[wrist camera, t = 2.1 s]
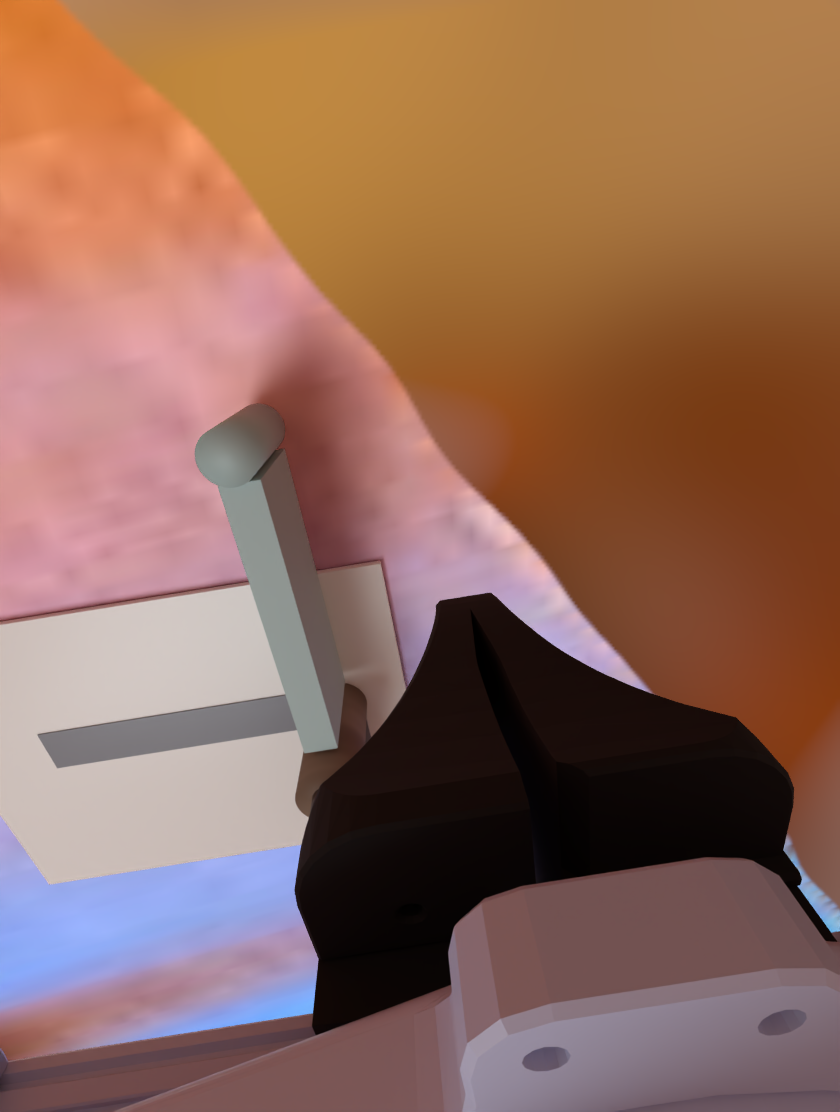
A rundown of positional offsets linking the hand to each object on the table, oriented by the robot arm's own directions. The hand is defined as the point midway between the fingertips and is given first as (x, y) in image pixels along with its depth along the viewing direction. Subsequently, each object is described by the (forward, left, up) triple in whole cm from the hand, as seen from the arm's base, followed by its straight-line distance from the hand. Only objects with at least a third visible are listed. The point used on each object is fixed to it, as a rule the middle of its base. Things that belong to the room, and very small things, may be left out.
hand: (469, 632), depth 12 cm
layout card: (-9, +13, -8) cm, 18 cm away
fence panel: (-1, +6, -8) cm, 9 cm away
